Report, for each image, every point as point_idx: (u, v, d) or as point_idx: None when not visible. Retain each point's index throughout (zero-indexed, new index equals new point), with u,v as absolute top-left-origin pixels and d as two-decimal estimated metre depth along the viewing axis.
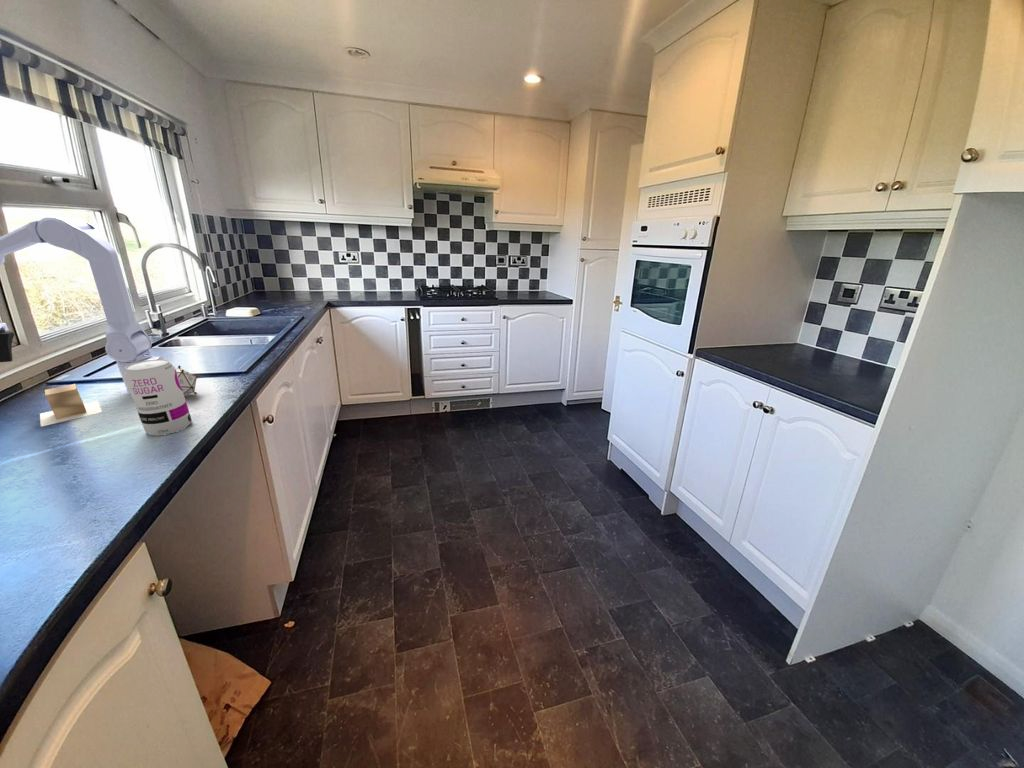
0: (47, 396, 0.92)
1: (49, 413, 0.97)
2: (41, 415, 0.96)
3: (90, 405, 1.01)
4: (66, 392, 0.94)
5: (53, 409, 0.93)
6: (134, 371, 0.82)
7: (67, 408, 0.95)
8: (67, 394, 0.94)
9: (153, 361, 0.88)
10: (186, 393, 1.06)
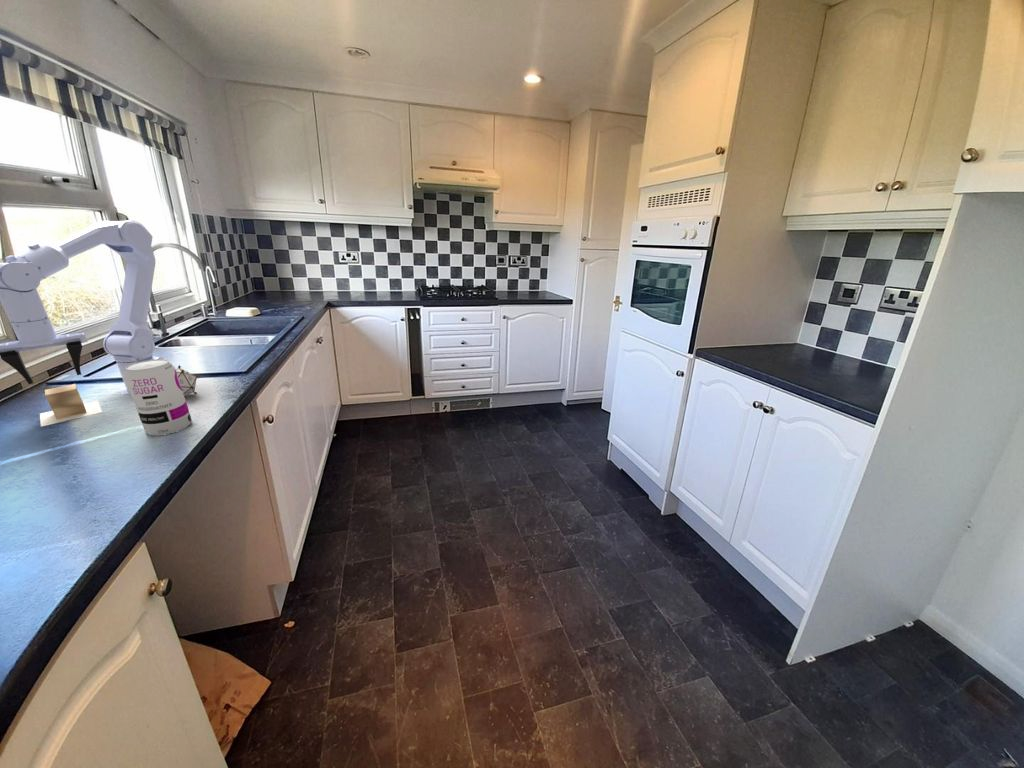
0: (47, 396, 0.92)
1: (49, 413, 0.97)
2: (41, 415, 0.96)
3: (90, 405, 1.01)
4: (66, 392, 0.94)
5: (53, 409, 0.93)
6: (134, 371, 0.82)
7: (67, 408, 0.95)
8: (67, 394, 0.94)
9: (153, 361, 0.88)
10: (186, 393, 1.06)
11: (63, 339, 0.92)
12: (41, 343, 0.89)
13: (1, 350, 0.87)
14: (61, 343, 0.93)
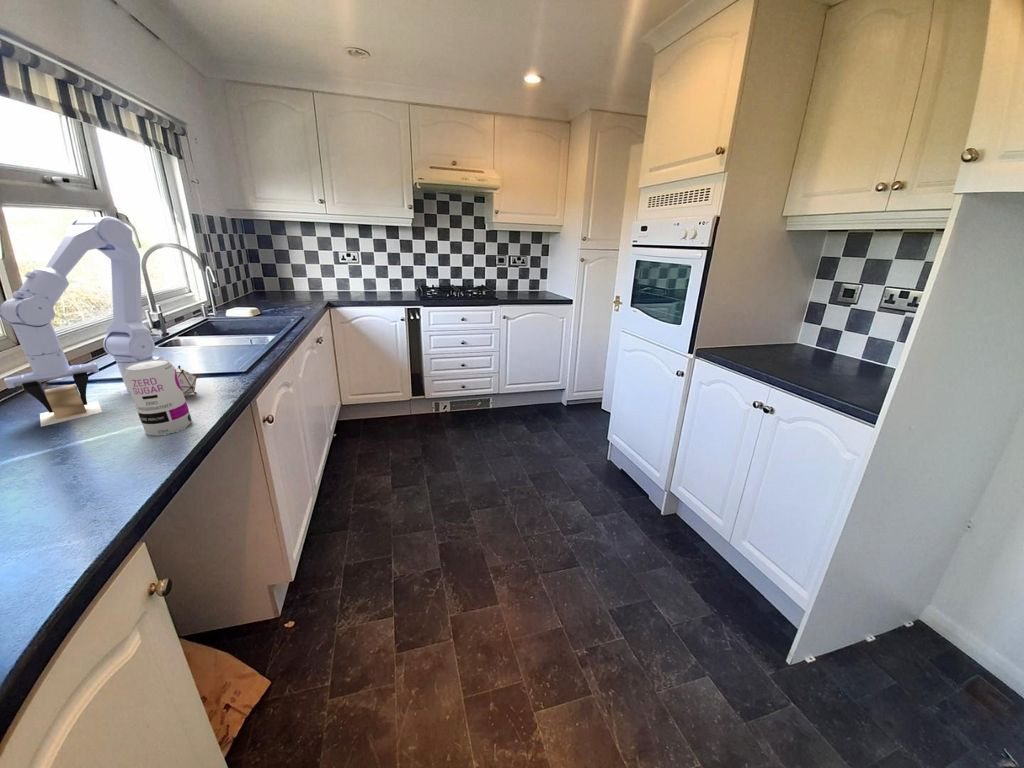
0: (47, 396, 0.92)
1: (49, 413, 0.97)
2: (41, 415, 0.96)
3: (90, 405, 1.01)
4: (66, 392, 0.94)
5: (53, 409, 0.93)
6: (134, 371, 0.82)
7: (67, 408, 0.95)
8: (67, 394, 0.94)
9: (153, 361, 0.88)
10: (186, 393, 1.06)
11: (76, 370, 0.95)
12: (55, 375, 0.92)
13: (17, 382, 0.90)
14: (74, 373, 0.96)
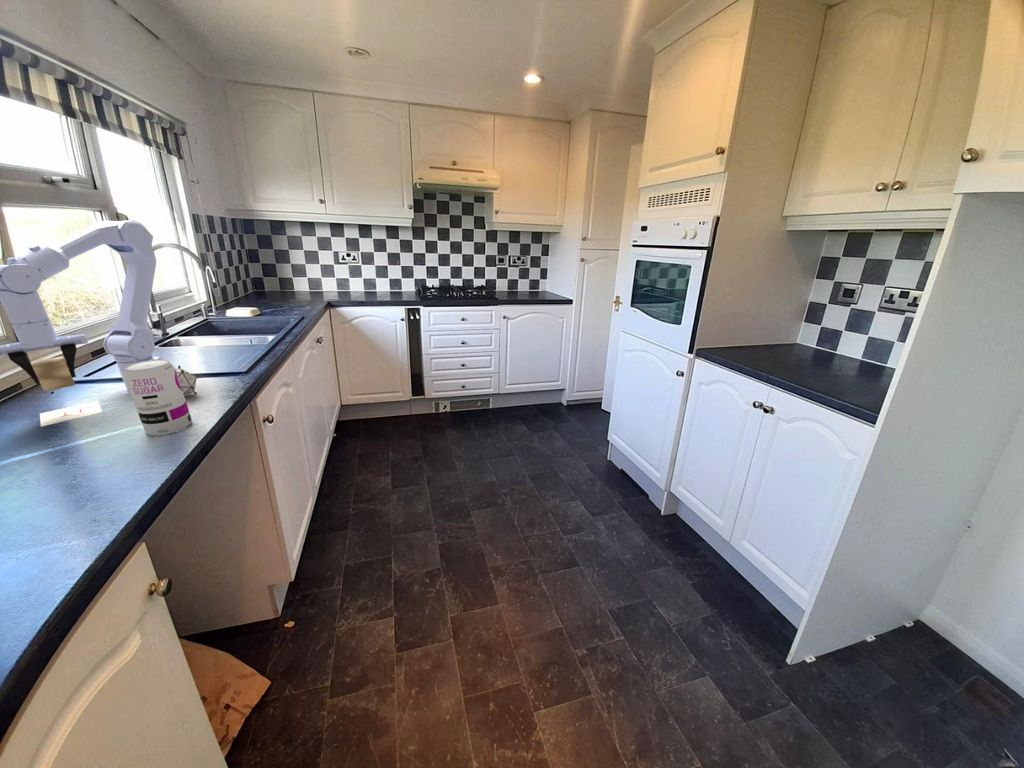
0: (34, 367, 0.90)
1: (49, 413, 0.97)
2: (41, 415, 0.96)
3: (90, 405, 1.01)
4: (54, 363, 0.92)
5: (40, 381, 0.91)
6: (134, 371, 0.82)
7: (55, 381, 0.93)
8: (55, 366, 0.92)
9: (153, 361, 0.88)
10: (186, 393, 1.06)
11: (64, 340, 0.93)
12: (42, 344, 0.89)
13: (2, 352, 0.87)
14: (62, 344, 0.94)
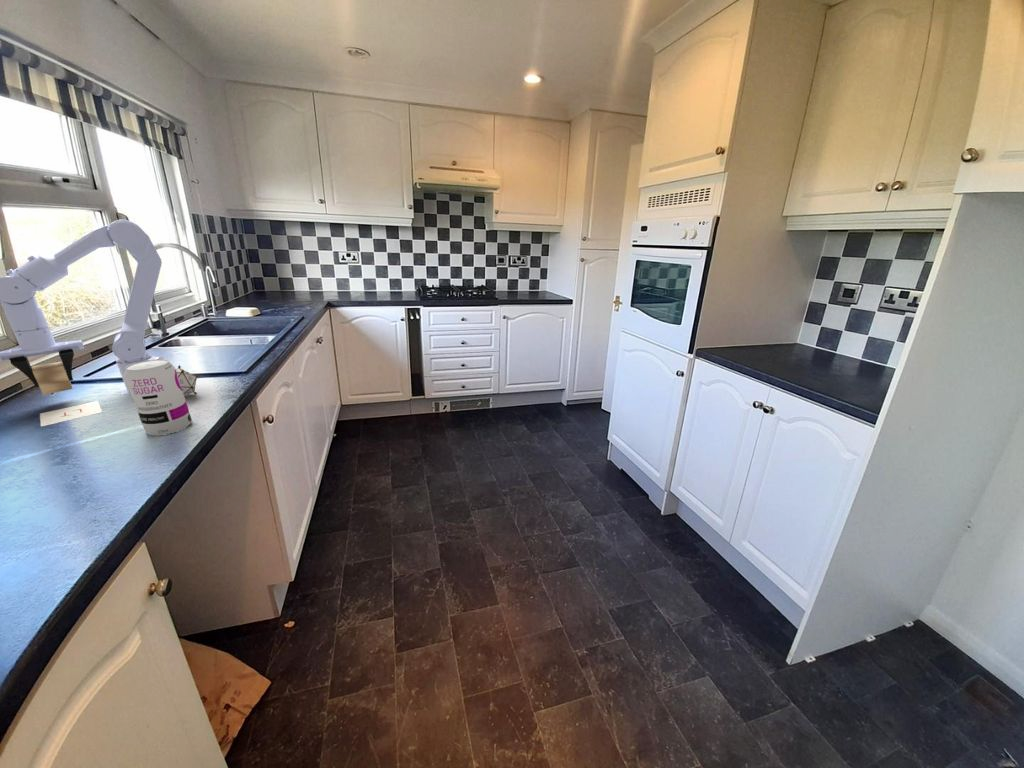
0: (34, 372, 0.96)
1: (49, 413, 0.97)
2: (41, 415, 0.96)
3: (90, 405, 1.01)
4: (53, 369, 0.98)
5: (40, 385, 0.97)
6: (134, 371, 0.82)
7: (53, 385, 0.99)
8: (53, 371, 0.98)
9: (153, 361, 0.88)
10: (186, 393, 1.06)
11: (62, 346, 0.99)
12: (41, 350, 0.96)
13: (4, 357, 0.94)
14: (60, 350, 1.00)
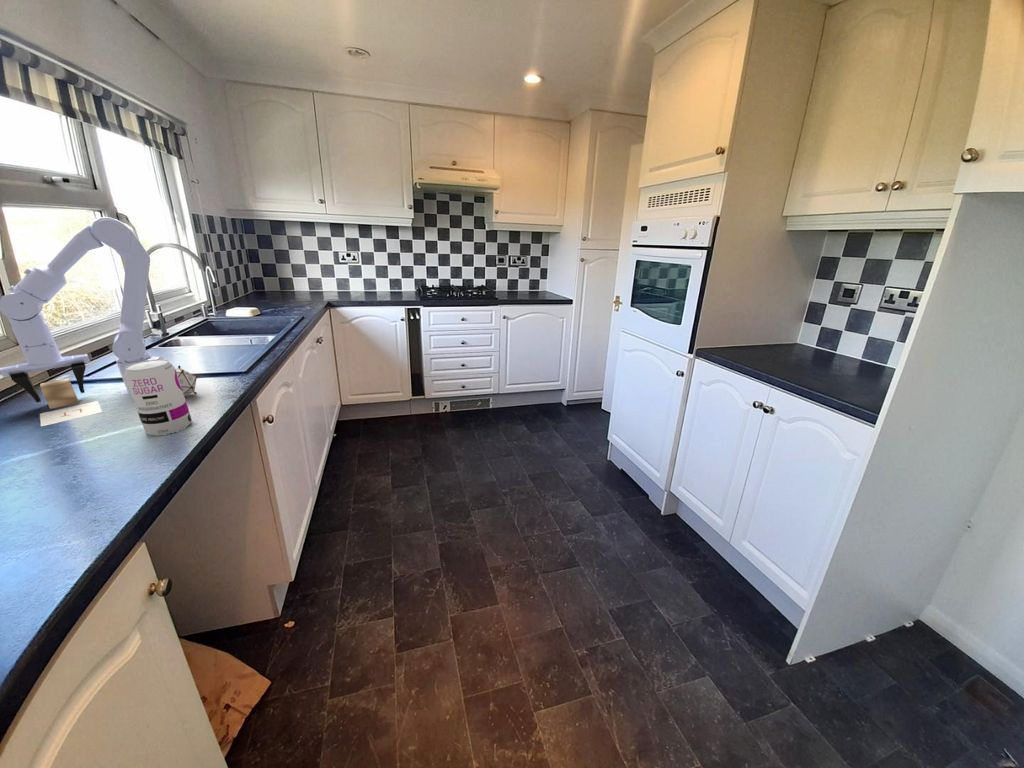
0: (42, 389, 0.98)
1: (49, 413, 0.97)
2: (41, 415, 0.96)
3: (90, 405, 1.01)
4: (60, 385, 1.00)
5: (48, 402, 0.99)
6: (134, 371, 0.82)
7: (61, 401, 1.01)
8: (61, 388, 1.00)
9: (153, 361, 0.88)
10: (186, 393, 1.06)
11: (68, 361, 1.00)
12: (48, 365, 0.97)
13: (12, 372, 0.95)
14: (66, 364, 1.01)
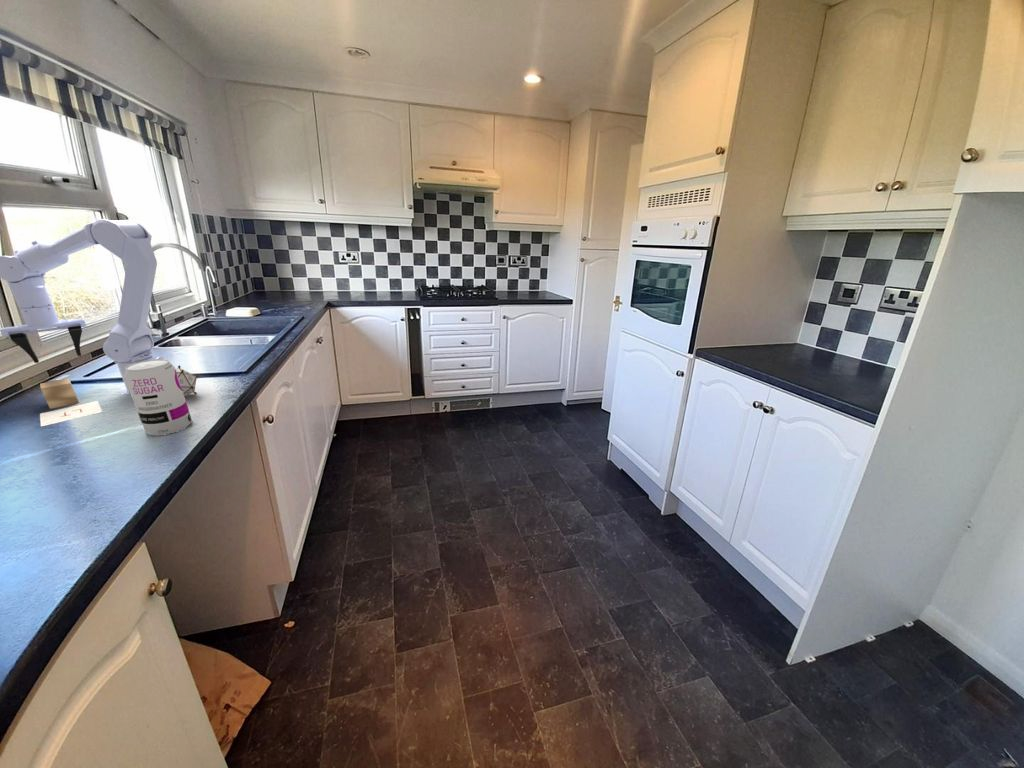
0: (42, 389, 0.98)
1: (49, 413, 0.97)
2: (41, 415, 0.96)
3: (90, 405, 1.01)
4: (60, 385, 1.00)
5: (48, 402, 0.99)
6: (134, 371, 0.82)
7: (61, 401, 1.01)
8: (61, 388, 1.00)
9: (153, 361, 0.88)
10: (186, 393, 1.06)
11: (65, 323, 1.04)
12: (46, 327, 1.01)
13: (11, 332, 0.99)
14: (63, 327, 1.05)
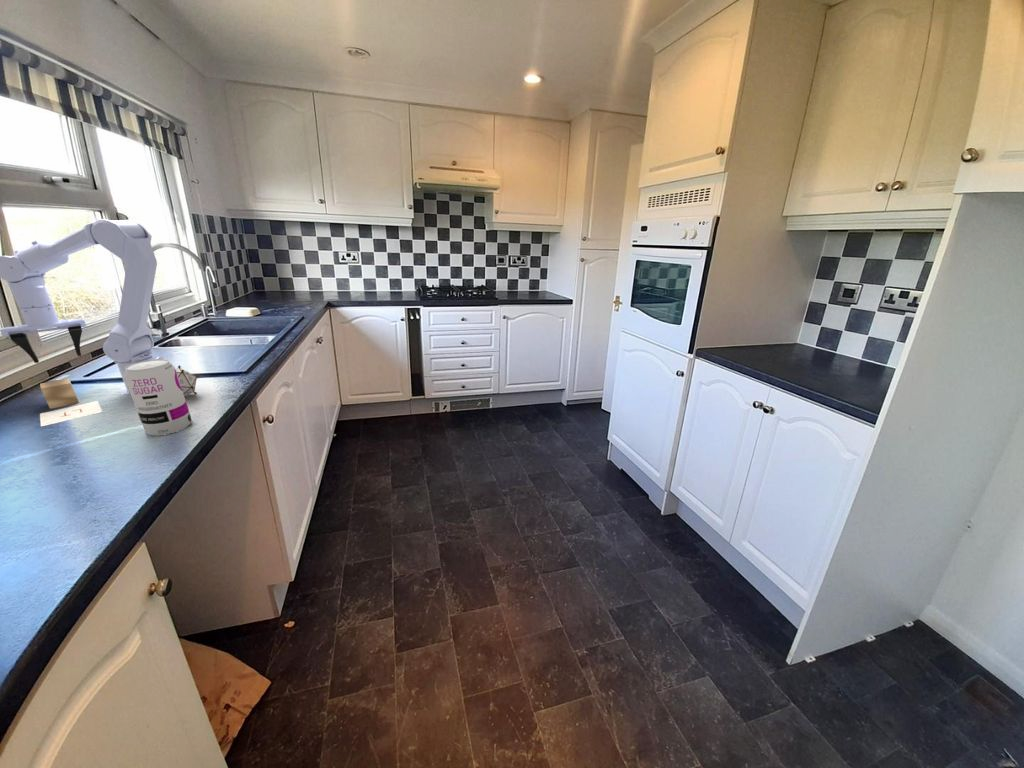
0: (42, 389, 0.98)
1: (49, 413, 0.97)
2: (41, 415, 0.96)
3: (90, 405, 1.01)
4: (60, 385, 1.00)
5: (48, 402, 0.99)
6: (134, 371, 0.82)
7: (61, 401, 1.01)
8: (61, 388, 1.00)
9: (153, 361, 0.88)
10: (186, 393, 1.06)
11: (65, 323, 1.04)
12: (46, 327, 1.01)
13: (11, 332, 0.99)
14: (63, 327, 1.05)
